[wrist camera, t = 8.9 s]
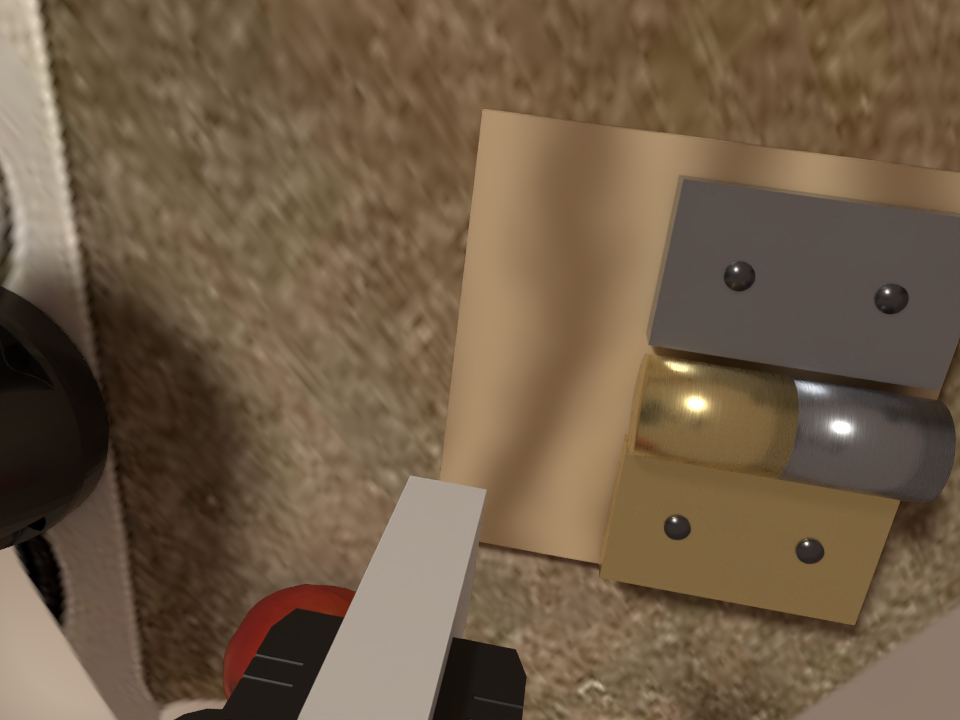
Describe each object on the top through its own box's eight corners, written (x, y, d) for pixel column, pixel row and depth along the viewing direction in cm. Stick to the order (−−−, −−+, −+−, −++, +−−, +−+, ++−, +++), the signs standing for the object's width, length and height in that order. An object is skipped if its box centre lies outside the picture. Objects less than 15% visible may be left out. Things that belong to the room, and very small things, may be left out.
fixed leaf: (626, 428, 36) (630, 472, 31) (679, 174, 31) (692, 187, 27) (901, 474, 34) (943, 526, 30) (994, 217, 30) (1056, 238, 26)
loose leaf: (598, 558, 38) (599, 615, 34) (644, 340, 34) (651, 374, 30) (844, 603, 37) (875, 668, 33) (921, 383, 33) (968, 425, 29)
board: (438, 520, 40) (433, 533, 39) (486, 109, 33) (482, 109, 32) (852, 596, 39) (860, 612, 37) (1001, 177, 31) (1016, 181, 30)
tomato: (450, 641, 43) (421, 757, 36) (339, 711, 46) (290, 832, 39) (339, 525, 42) (283, 621, 34) (231, 606, 44) (158, 711, 37)
